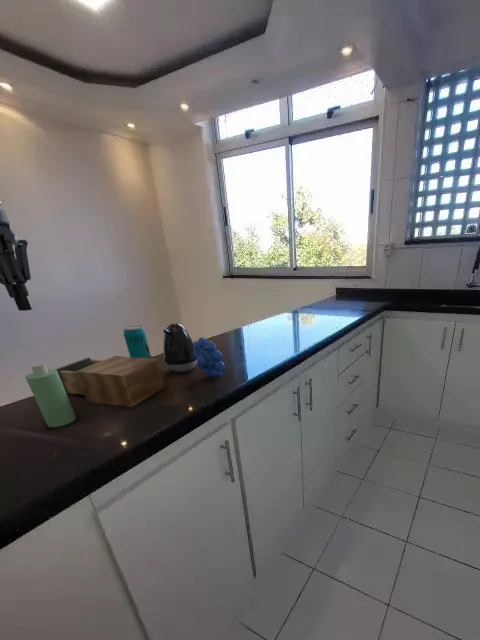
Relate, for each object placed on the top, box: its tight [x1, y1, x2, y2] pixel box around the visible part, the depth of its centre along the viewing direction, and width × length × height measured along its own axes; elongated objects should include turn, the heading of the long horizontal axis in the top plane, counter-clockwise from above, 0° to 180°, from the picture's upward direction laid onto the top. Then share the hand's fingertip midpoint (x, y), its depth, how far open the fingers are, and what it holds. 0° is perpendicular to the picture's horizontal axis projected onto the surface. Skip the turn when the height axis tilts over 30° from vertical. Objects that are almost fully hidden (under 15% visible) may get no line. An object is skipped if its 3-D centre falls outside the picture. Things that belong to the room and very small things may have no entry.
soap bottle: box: [24, 362, 77, 428], centre depth 70 cm, size 6×6×14 cm
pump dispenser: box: [162, 322, 198, 374], centre depth 98 cm, size 10×10×15 cm
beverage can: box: [123, 325, 153, 359], centre depth 96 cm, size 6×6×15 cm
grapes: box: [193, 337, 226, 378], centre depth 92 cm, size 12×7×12 cm, turn 61°
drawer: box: [54, 357, 103, 396], centre depth 87 cm, size 18×11×7 cm, turn 73°
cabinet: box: [76, 355, 165, 408], centre depth 83 cm, size 15×13×9 cm
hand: (25, 309), depth 83 cm, fingers closed
